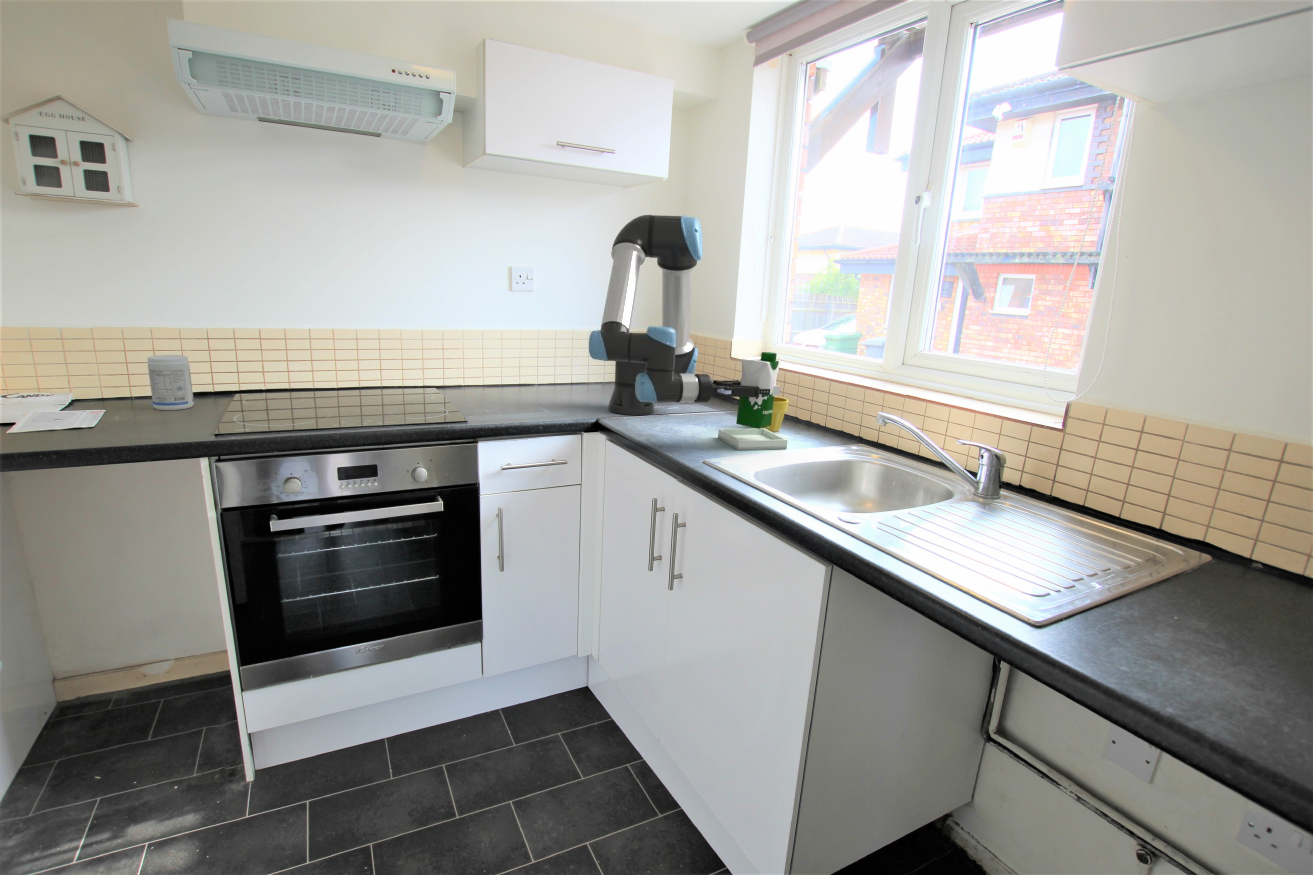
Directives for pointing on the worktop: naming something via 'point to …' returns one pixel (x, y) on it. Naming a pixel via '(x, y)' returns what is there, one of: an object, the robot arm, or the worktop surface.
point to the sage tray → (752, 439)
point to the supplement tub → (170, 382)
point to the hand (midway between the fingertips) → (772, 388)
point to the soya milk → (764, 377)
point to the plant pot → (778, 413)
